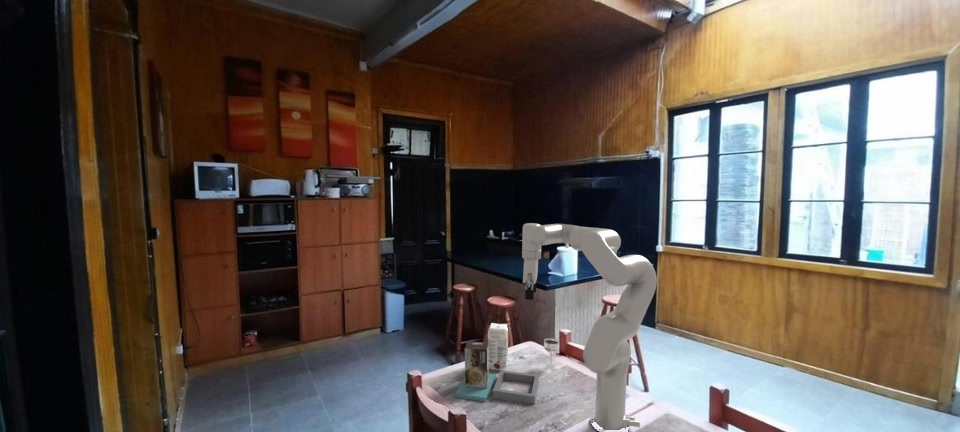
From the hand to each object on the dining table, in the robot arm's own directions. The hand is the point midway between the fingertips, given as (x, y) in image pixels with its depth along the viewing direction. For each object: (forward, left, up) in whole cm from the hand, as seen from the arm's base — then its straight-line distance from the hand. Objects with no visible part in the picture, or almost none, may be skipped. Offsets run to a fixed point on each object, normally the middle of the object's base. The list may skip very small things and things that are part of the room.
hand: (530, 295), depth 155 cm
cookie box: (+20, +10, -35) cm, 41 cm away
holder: (+4, +8, -36) cm, 37 cm away
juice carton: (+15, -8, -36) cm, 40 cm away
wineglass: (-8, -14, -36) cm, 40 cm away
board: (+20, +10, -36) cm, 43 cm away
